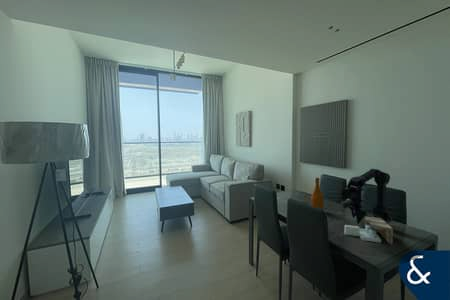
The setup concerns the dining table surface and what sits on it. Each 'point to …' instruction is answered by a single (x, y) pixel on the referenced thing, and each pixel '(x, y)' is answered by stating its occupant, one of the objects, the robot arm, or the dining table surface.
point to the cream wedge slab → (380, 228)
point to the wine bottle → (317, 196)
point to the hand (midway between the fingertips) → (355, 220)
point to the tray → (362, 233)
